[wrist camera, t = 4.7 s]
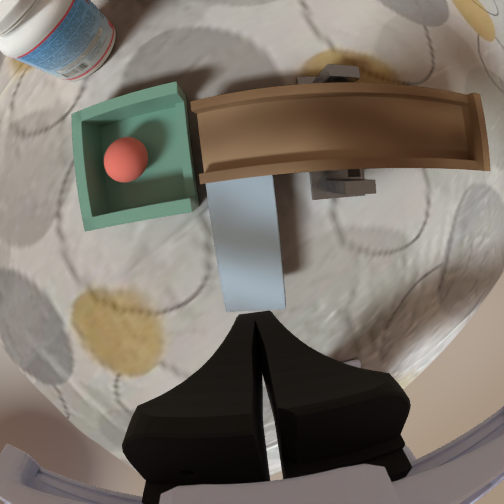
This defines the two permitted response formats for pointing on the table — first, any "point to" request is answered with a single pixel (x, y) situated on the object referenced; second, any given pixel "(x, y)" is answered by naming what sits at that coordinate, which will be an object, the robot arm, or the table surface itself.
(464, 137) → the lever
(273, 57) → the table surface
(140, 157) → the ball
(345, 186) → the stand
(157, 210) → the dish
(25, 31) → the pill bottle
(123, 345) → the table surface
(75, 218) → the table surface
